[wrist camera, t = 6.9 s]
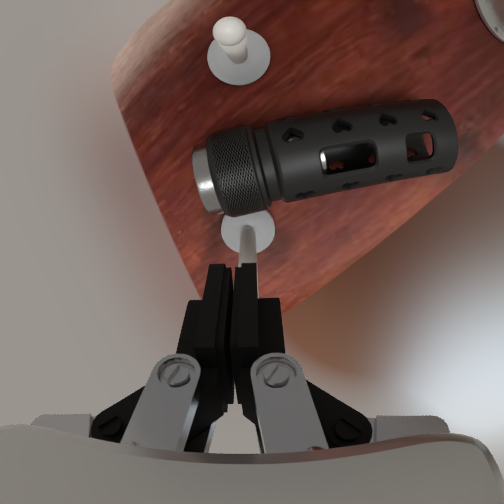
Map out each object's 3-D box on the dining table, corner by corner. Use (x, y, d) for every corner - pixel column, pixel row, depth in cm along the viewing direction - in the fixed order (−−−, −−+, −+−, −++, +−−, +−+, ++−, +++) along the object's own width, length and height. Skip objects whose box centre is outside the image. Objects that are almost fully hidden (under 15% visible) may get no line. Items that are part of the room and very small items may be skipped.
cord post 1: (268, 29, 29) (287, -23, 12) (270, 84, 33) (292, 82, 16) (207, 33, 29) (166, -14, 12) (210, 87, 33) (171, 90, 16)
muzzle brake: (419, 160, 37) (460, 185, 28) (220, 200, 41) (211, 238, 32) (412, 93, 33) (457, 101, 24) (198, 131, 36) (181, 148, 27)
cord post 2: (273, 200, 40) (291, 295, 24) (274, 247, 44) (288, 355, 27) (219, 202, 40) (199, 298, 24) (224, 249, 44) (210, 358, 27)
